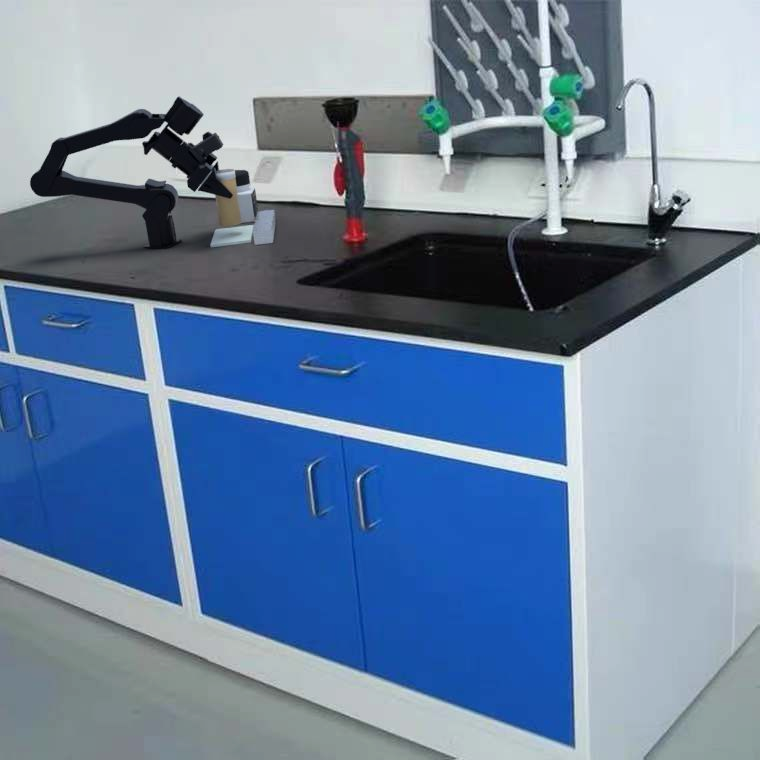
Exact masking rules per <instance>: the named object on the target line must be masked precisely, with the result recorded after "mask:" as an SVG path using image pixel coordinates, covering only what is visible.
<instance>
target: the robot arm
mask: <svg viewBox="0 0 760 760" xmlns="http://www.w3.org/2000/svg"><path fill="white" fill-rule="evenodd" d="M203 117H204V112H202V111H201V110H200V108H198V107H197V106H196V105H195V104H193V103H191V102H189V101H187V100H186V99H184V98H182V97H181V96H177V97H176V98H175V100H174V101H173V104H172V105H171V107H170V108H169V110H168V111H167V112H166V113H152V112H150V111H149V110H147V109H144V108H137V109H135V110H133V111H132V112H130V113H128V114H126V115H124V116H122V117H121V118H119V119H117V120H114V121H113V122H111V123H108V124H105V125H102V126H99V127H96V128H95V127H94V128H92V129H89V130H85V131H82V132H78V133H76V134H72V135H69V136H67V137H58V138H57V139H55V140H54V141H53V142H52V143H51V145H50V149H49V151H48V153H47V155H46V157H45V158H44V160H43V162H42V164H41V166H40V168H39V169H38V170H37V171H36V172H34V174H32V176H31V177H30V180H29V187H30V189H31V191H32V192H33V193H34V194H35V195H36V196H37V197H38V196H39V197H41V198H42V197H43V198H50V197H51V198H52V197H53V198H54V197H65V196H79V197H86V198H92V199H99V200H105V201H106V200H107V201H113V202H119V203H125V204H126V203H127V204H132V205H133V204H134V205H136V206H138V207H141V208H142V209H145V210H144V212H143V214H142V216H141V217H142V218H143V220H144V222H145V223H144V224H145V228H146V235H147V241H148V243H147V244H146V245H144V246H143V248H144V249H168V248H169V249H170V247H172V246H175V245H177V244H180V243H181V242H183V240H182V239H181V238H177V235H176V234H177V233H176V229H175V223H174V222H175V221H174V219H173V215H172V214H171V213H172V211H174V208H175V207H176V205H177V204H178V200H179V193H178V190H177V189H176V188H175V187H174V185H172V184H169V183H167V180H162V181H159V180H156V179H152V178H147V180H146V181H145V183H144V184H142V185H136V184H129V183H124V182H123V183H122V182H116V181H108V180H102V179H96V178H88V177H81V176H76V175H74V174H72V173H70V172H68V171H66V170H63V169H64V166H65V164H66V161H67V159H68V156H70V155H73V154H76V153H79V152H83V151H86V150H89V149H92V148H96V147H99V146H102V145H106V144H110V143H113V142H116V141H130V140H131V141H132V140H139V139H145V138H146V137H148V136H150V134H151V133H152V132H153V131H154V130H157V129H160V128H161V127H162V125H164V123H166V125H165V126H164V128H163V129H162V130H161V132H159V131H154V132H153V134H152V135H151V136H150V137H149V139H148V140H146V141H145V140H144V141H142V143H141V144H142V147H143V154H144V155H145V156H148V154H149V153H150V151H151V150H153V151H154V152H156V153H157V154H158V155H160V156H161V157H162V158H164V159H165V160H166V161H168V162H169V163H170V164H171V167H172V168H173V169H178V170H179V171H181V173H183V174H184V175H185V176H186V179H187V180H186V184H187V188H189V190H191V191H193V193H196V191H198V192H203V193H208V194H212V195H214V196H215V195H218V196H222V197H225V198H229V199H231V198H232V196H233V194H232V193H231V192H230V191H229V190H228V189H227V187H226V186H225V185H224V184H223V183H222V182H221V181H220V180H219V179H218V178H217V176H216V171H217V170H220V168H219V167H220V165H219V161H217V159H218V156H216V155H215V154H214V152H215V151H218V150H220V149H222V148H223V147H224V143H223V141H222V140H221V138H220V136H219V135H218V134H217V132H214V133H212V132H210V131H206V132H205V133H203V134H202V140H200V141H199V142H198V143H197V144H194V143H192V142H191V141H190V142H187V141H185V140H183V139H182V138H181V137H180V136H184V134H185V135H187V136H188V135H190V134H191V132H192V131H193V130H194V129H195V127H196V126H197V124H198V123H199V122H200V120H202V118H203ZM170 129H171V130H170ZM178 135H179V136H178ZM215 161H216V162H215ZM213 164H214V165H213Z"/></svg>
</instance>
